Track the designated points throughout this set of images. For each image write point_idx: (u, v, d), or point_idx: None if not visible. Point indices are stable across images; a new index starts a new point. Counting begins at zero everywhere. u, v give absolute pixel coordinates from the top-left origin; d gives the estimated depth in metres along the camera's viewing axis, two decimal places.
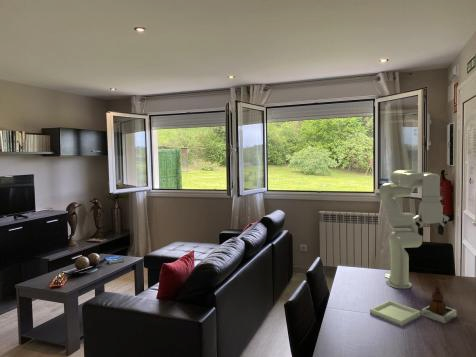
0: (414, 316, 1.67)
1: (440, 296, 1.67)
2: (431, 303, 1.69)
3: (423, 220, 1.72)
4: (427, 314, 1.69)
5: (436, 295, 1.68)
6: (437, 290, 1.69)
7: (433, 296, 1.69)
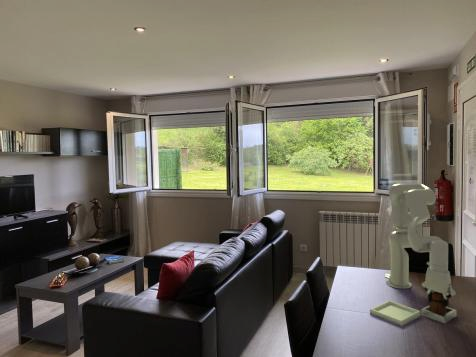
0: (414, 316, 1.67)
1: (440, 296, 1.67)
2: (431, 304, 1.69)
3: None
4: (427, 314, 1.69)
5: (436, 295, 1.68)
6: None
7: (433, 296, 1.69)
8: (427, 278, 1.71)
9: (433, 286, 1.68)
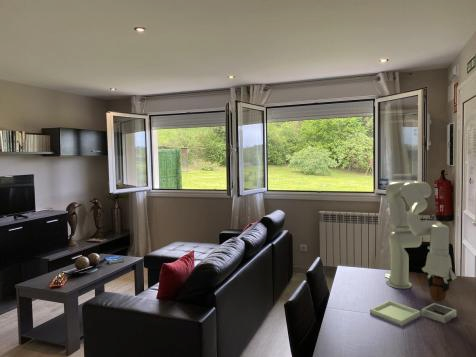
0: (414, 316, 1.67)
1: (441, 280, 1.67)
2: (431, 288, 1.69)
3: None
4: (427, 314, 1.69)
5: (437, 279, 1.67)
6: None
7: (434, 280, 1.68)
8: (428, 262, 1.70)
9: (434, 270, 1.68)
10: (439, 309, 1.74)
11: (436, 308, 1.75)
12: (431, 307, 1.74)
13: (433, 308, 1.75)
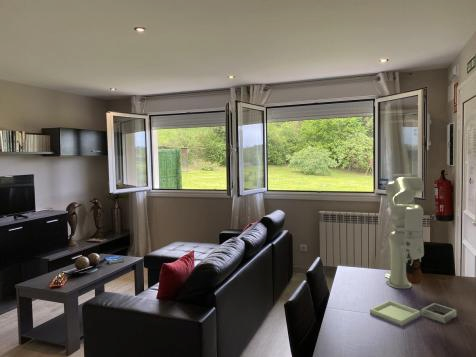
0: (414, 316, 1.67)
1: None
2: (418, 273, 1.66)
3: None
4: (427, 314, 1.69)
5: (418, 262, 1.68)
6: None
7: (417, 264, 1.67)
8: (414, 248, 1.65)
9: (418, 254, 1.66)
10: (439, 309, 1.74)
11: (436, 308, 1.75)
12: (431, 307, 1.74)
13: (433, 308, 1.75)
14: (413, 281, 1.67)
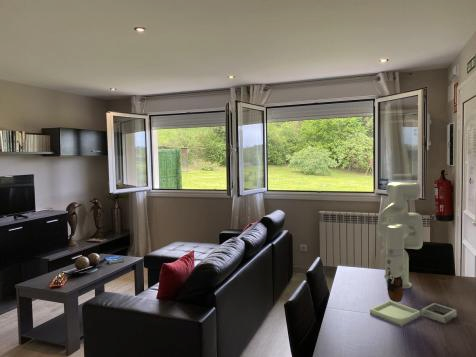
0: (414, 316, 1.67)
1: None
2: (399, 291, 1.68)
3: None
4: (427, 314, 1.69)
5: (400, 280, 1.69)
6: None
7: (399, 282, 1.68)
8: (395, 267, 1.66)
9: (399, 272, 1.68)
10: (439, 309, 1.74)
11: (436, 308, 1.75)
12: (431, 307, 1.74)
13: (433, 308, 1.75)
14: (394, 299, 1.69)
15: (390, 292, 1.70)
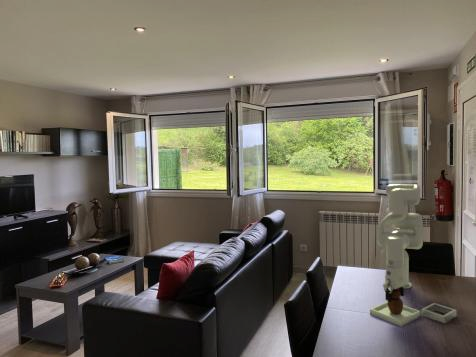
0: (414, 316, 1.67)
1: None
2: (399, 303, 1.68)
3: None
4: (427, 314, 1.69)
5: (399, 292, 1.70)
6: None
7: (398, 295, 1.69)
8: (395, 278, 1.66)
9: (399, 283, 1.68)
10: (439, 309, 1.74)
11: (436, 308, 1.75)
12: (431, 307, 1.74)
13: (433, 308, 1.75)
14: (394, 311, 1.69)
15: (390, 305, 1.71)
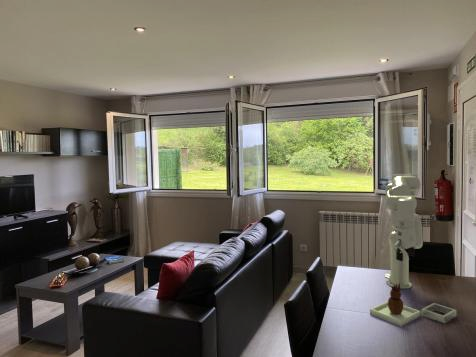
0: (414, 316, 1.67)
1: None
2: (399, 303, 1.68)
3: None
4: (427, 314, 1.69)
5: (400, 292, 1.70)
6: None
7: (399, 295, 1.69)
8: (406, 238, 1.72)
9: (410, 243, 1.74)
10: (439, 309, 1.74)
11: (436, 308, 1.75)
12: (431, 307, 1.74)
13: (433, 308, 1.75)
14: (394, 311, 1.69)
15: (390, 305, 1.71)
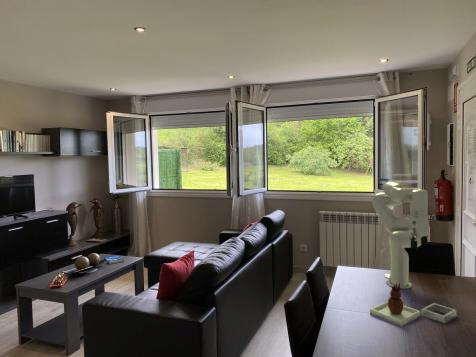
0: (414, 316, 1.67)
1: None
2: (399, 303, 1.68)
3: None
4: (427, 314, 1.69)
5: (400, 292, 1.70)
6: None
7: (399, 295, 1.69)
8: (420, 227, 1.81)
9: (424, 232, 1.83)
10: (439, 309, 1.74)
11: (436, 308, 1.75)
12: (431, 307, 1.74)
13: (433, 308, 1.75)
14: (394, 311, 1.69)
15: (390, 305, 1.71)
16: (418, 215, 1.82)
